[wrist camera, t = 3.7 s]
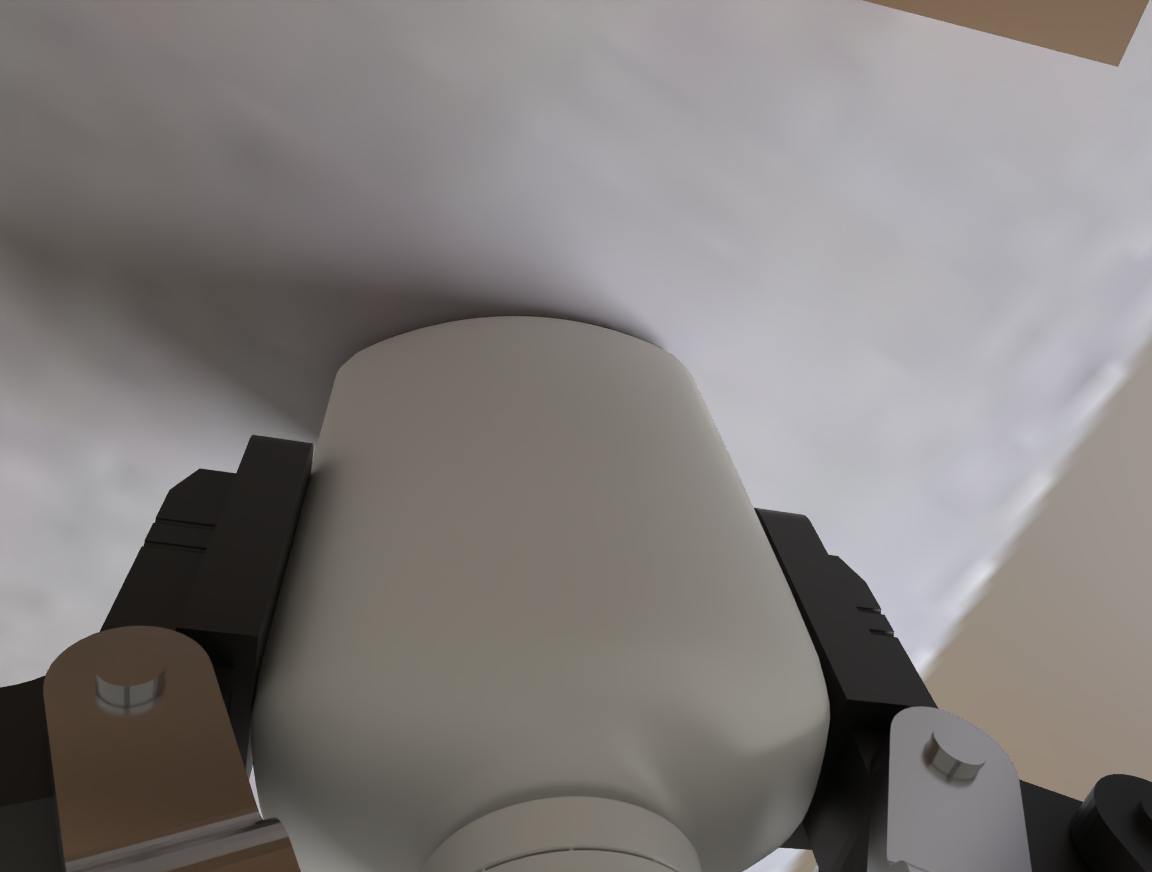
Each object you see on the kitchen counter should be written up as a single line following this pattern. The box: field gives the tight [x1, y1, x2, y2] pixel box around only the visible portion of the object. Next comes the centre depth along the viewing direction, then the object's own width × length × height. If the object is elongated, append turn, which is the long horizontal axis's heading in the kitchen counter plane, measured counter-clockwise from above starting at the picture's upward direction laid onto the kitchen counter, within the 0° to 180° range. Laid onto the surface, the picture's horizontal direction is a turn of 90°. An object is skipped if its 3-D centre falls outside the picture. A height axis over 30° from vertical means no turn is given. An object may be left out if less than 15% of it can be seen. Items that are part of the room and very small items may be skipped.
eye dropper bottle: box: [250, 316, 830, 872], centre depth 10 cm, size 4×6×12 cm
